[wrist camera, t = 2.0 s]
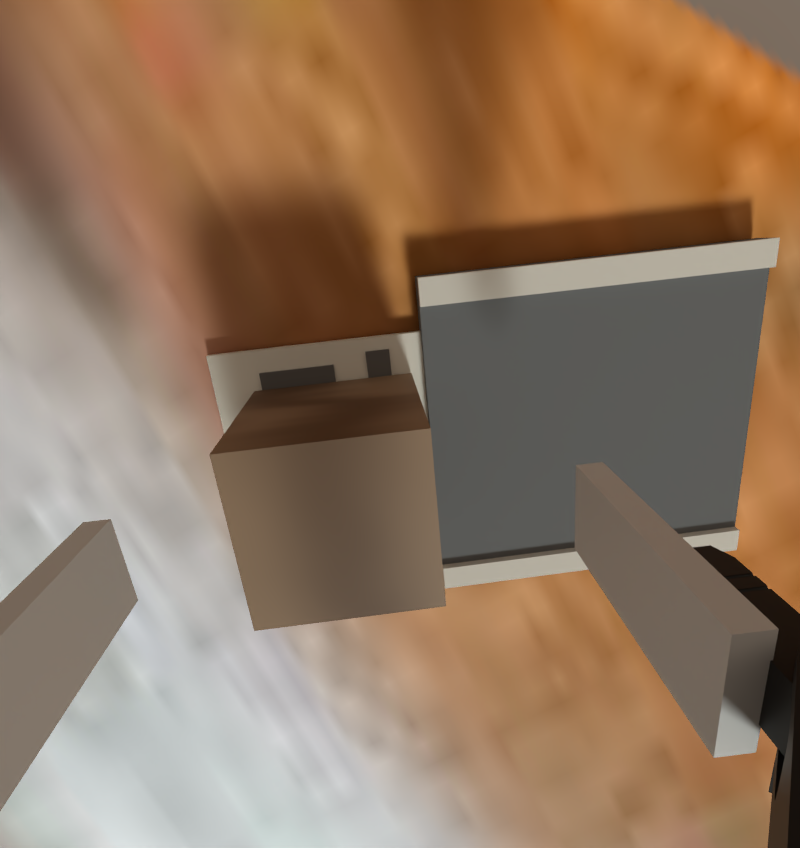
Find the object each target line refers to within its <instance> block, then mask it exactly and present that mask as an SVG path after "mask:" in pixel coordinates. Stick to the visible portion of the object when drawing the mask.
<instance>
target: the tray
mask: <svg viewBox="0 0 800 848" xmlns="http://www.w3.org/2000/svg"><path fill="white" fill-rule="evenodd" d="M779 240H780V238H754V239H745V240H736V241H727V242H718V243H709V244H700V245H691V246H682V247H673V248H664V249H655V250H646V251H637V252H628V253H619V254H610V255H601V256H592V257H583V258H574V259H565V260H556V261H547V262H538V263H529V264H520V265H511V266H502V267H493V268H484V269H475V270H466V271H457V272H448V273H439V274H430V275H421V276H415V285H416V296H417V307H418V318H419V329H420V332H421V343H422V355H423V366H424V377H425V388H426V400H427V411H428V422H429V425H430V428H431V438H432V450H433V461H434V473H435V485H436V496H437V508H438V519H439V531H440V543H441V554H442V566H443V578H444V586H445V588H452V587H459V586H467V585H474V584H482V583H490V582H497V581H505V580H512V579H520V578H527V577H535V576H543V575H550V574H558V573H565V572H573V571H580V570H588V568H587V566H586V565H585V563H584V562H583V560H582V559H581V557H580V556H579V554H578V553H577V551H576V550H575V492H576V465H581V464H590V463H599V462H603V463H604V464H605V465H606V466H607V467H608V468H610V469H611V470H612V471H613V472H614V473H615V474H616V475H617V476H618V477H619V478H620V479H621V480H622V481H623V482H624V483H625V484H626V485H627V486H628V487H630V488H631V489H632V490H633V491H634V492H635V493H636V494H637V495H638V496H639V497H640V498H641V499H642V500H643V501H644V502H645V503H646V504H647V505H649V506H650V507H651V508H652V509H653V510H654V511H655V512H656V513H657V514H658V515H659V516H660V517H661V518H662V519H663V520H664V521H665V522H666V523H668V524H669V525H670V526H671V527H672V528H673V529H674V530H675V531H676V532H677V533H678V534H679V535H680V536H681V537H682V538H683V539H684V540H685V541H686V542H688V543H689V544H690V545H691V546H692V547H701V546H709V545H711V546H713V547H715V548H717V549H719V550H721V551H723V552H724V551H732V550H737V544H738V537H739V529H737V528H736V527H735V521H736V513H737V506H738V498H739V491H740V483H741V476H742V468H743V461H744V453H745V446H746V439H747V431H748V424H749V416H750V409H751V401H752V394H753V386H754V379H755V371H756V364H757V357H758V349H759V342H760V334H761V327H762V319H763V312H764V304H765V297H766V289H767V282H768V275H769V268H770V267H776V262H777V255H778V247H779Z"/></svg>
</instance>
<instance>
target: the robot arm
mask: <svg viewBox="0 0 800 848" xmlns="http://www.w3.org/2000/svg"><path fill="white" fill-rule="evenodd" d="M575 550H576V551H577V553H578V554H579V556H580V557H581V559H582V560H583V562H584V563H585V565H586V566H587V568H588V569H589V571H590V572H591V574H592V575H593V577H594V578H595V580H596V581H597V583H598V584H599V586H600V587H601V589H602V590H603V592H604V593H605V595H606V596H607V598H608V599H609V601H610V602H611V604H612V605H613V607H614V608H615V610H616V611H617V613H618V614H619V616H620V617H621V619H622V620H623V622H624V623H625V625H626V626H627V628H628V629H629V631H630V632H631V634H632V635H633V637H634V638H635V640H636V641H637V643H638V644H639V646H640V647H641V649H642V650H643V652H644V654H645V655H646V657H647V658H648V660H649V661H650V663H651V664H652V666H653V667H654V669H655V670H656V672H657V673H658V675H659V676H660V678H661V679H662V681H663V682H664V684H665V685H666V687H667V688H668V690H669V691H670V693H671V694H672V696H673V697H674V699H675V700H676V702H677V703H678V705H679V706H680V708H681V709H682V711H683V712H684V714H685V715H686V717H687V718H688V720H689V721H690V723H691V724H692V726H693V727H694V729H695V730H696V732H697V733H698V735H699V736H700V738H701V739H702V741H703V742H704V744H705V745H706V747H707V748H708V750H709V751H710V753H711V754H712V756H713V757H714V758H715V757H723V756H731V755H739V754H747V753H755V752H756V749H757V744H758V738H759V733H760V728H762V729H763V731H764V732H765V733H766V734H767V736H768V737H769V738H770V739H771V740H772V742H773V743H774V744H775V745H776V747H777V753H776V758H775V763H774V768H773V773H772V778H771V782H770V787H769V792H770V793H772V802H771V814H770V826H769V838H768V848H800V614H799V613H798V612H797V611H796V610H795V609H793V608H792V607H791V606H790V605H789V604H788V603H787V602H785V601H784V600H783V599H782V598H781V597H780V596H778V595H777V594H776V593H775V592H774V591H773V590H772V589H768V588H767V585H766V584H765V583H763V582H762V581H761V580H760V579H759V578H758V577H757V576H753V574H752V572H751V571H750V570H748V569H747V568H746V567H745V566H744V565H743V564H742V563H740V562H739V561H738V560H737V559H736V558H735V557H733V556H731V555H729V554H727V553H725V552H723V551H721V550H719V549H717V548H715V547H713V546H711V545H709V546H701V547H692V546H691V545H690V544H689V543H688V542H686V541H685V540H684V539H683V538H682V537H681V536H680V535H679V534H678V533H677V532H676V531H675V530H674V529H673V528H672V527H671V526H670V525H669V524H668V523H666V522H665V521H664V520H663V519H662V518H661V517H660V516H659V515H658V514H657V513H656V512H655V511H654V510H653V509H652V508H651V507H650V506H649V505H647V504H646V503H645V502H644V501H643V500H642V499H641V498H640V497H639V496H638V495H637V494H636V493H635V492H634V491H633V490H632V489H631V488H630V487H628V486H627V485H626V484H625V483H624V482H623V481H622V480H621V479H620V478H619V477H618V476H617V475H616V474H615V473H614V472H613V471H612V470H611V469H610V468H608V467H607V466H606V465H605V464H604V463H603V462H599V463H590V464H581V465H576V492H575ZM137 601H138V599H137V596H136V593H135V590H134V587H133V584H132V581H131V578H130V575H129V572H128V569H127V566H126V563H125V560H124V557H123V554H122V551H121V548H120V546H119V543H118V540H117V537H116V534H115V531H114V528H113V525H112V522H111V519H108V520H100V521H91V522H83V523H82V524H81V525H80V526H79V527H78V528H77V529H76V530H75V531H74V532H73V533H72V534H71V535H70V536H69V537H68V538H67V539H66V540H65V541H63V542H62V543H61V544H60V545H59V546H58V547H57V548H56V549H55V550H54V551H53V552H52V553H51V554H50V555H49V556H48V557H47V558H46V559H45V560H44V561H43V562H42V563H41V564H40V565H39V566H38V567H37V568H36V569H35V570H34V571H33V572H32V573H31V574H29V575H28V576H27V577H26V578H25V579H24V580H23V581H22V582H21V583H20V584H19V585H18V586H17V587H16V588H15V589H14V590H13V591H12V592H11V593H10V594H9V595H8V596H7V597H6V598H5V599H4V600H3V601H2V602H1V603H0V811H1V809H2V808H3V806H4V805H5V803H6V802H7V800H8V798H9V797H10V795H11V794H12V792H13V791H14V789H15V788H16V786H17V785H18V783H19V782H20V780H21V779H22V777H23V775H24V774H25V772H26V771H27V769H28V768H29V766H30V765H31V763H32V762H33V760H34V759H35V757H36V756H37V754H38V753H39V751H40V749H41V748H42V746H43V745H44V743H45V742H46V740H47V739H48V737H49V736H50V734H51V733H52V731H53V730H54V728H55V726H56V725H57V723H58V722H59V720H60V719H61V717H62V716H63V714H64V713H65V711H66V710H67V708H68V707H69V705H70V703H71V702H72V700H73V699H74V697H75V696H76V694H77V693H78V691H79V690H80V688H81V687H82V685H83V684H84V682H85V681H86V679H87V677H88V676H89V674H90V673H91V671H92V670H93V668H94V667H95V665H96V664H97V662H98V661H99V659H100V658H101V656H102V654H103V653H104V651H105V650H106V648H107V647H108V645H109V644H110V642H111V641H112V639H113V638H114V636H115V635H116V633H117V631H118V630H119V628H120V627H121V625H122V624H123V622H124V621H125V619H126V618H127V616H128V615H129V613H130V612H131V610H132V609H133V607H134V605H135V604H136V602H137Z"/></svg>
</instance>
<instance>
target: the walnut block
mask: <svg viewBox="0 0 800 848" xmlns="http://www.w3.org/2000/svg"><path fill="white" fill-rule="evenodd" d="M210 458H211V462H212V466H213V470H214V474H215V478H216V482H217V486H218V490H219V494H220V498H221V502H222V505H223V509H224V513H225V517H226V521H227V525H228V529H229V533H230V537H231V541H232V545H233V549H234V553H235V557H236V561H237V564H238V568H239V572H240V576H241V580H242V584H243V588H244V592H245V596H246V600H247V604H248V608H249V612H250V616H251V620H252V623H253V627H254V631H257V630H264V629H272V628H280V627H288V626H295V625H303V624H311V623H319V622H327V621H334V620H342V619H350V618H358V617H365V616H373V615H381V614H389V613H396V612H404V611H412V610H420V609H428V608H435V607H443V606H446V601H445V589H444V578H443V566H442V554H441V543H440V531H439V519H438V508H437V496H436V485H435V473H434V461H433V450H432V438H431V428H430V425H429V422H428V419H427V416H426V414H425V411H424V408H423V405H422V402H421V399H420V396H419V393H418V391H417V388H416V385H415V382H414V379H413V376H412V373H407V374H398V375H390V376H381V377H372V378H364V379H355V380H347V381H338V382H329V383H321V384H312V385H303V386H295V387H286V388H278V389H269V390H260V391H254V392H253V394H252V395H251V397H250V398H249V399H248V401H247V402H246V404H245V405H244V407H243V408H242V409H241V411H240V412H239V414H238V415H237V416H236V418H235V419H234V421H233V422H232V424H231V425H230V426H229V428H228V429H227V431H226V432H225V434H224V435H223V436H222V438H221V439H220V441H219V442H218V443H217V445H216V446H215V448H214V449H213V451H212V452H211V453H210Z"/></svg>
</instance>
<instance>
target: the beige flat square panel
mask: <svg viewBox="0 0 800 848" xmlns="http://www.w3.org/2000/svg"><path fill="white" fill-rule="evenodd" d="M206 357H207V362H208V366H209V370H210V375H211V379H212V383H213V387H214V392H215V396H216V400H217V405H218V409H219V413H220V417H221V422H222V426H223V430H224V434H225V432H226V431H227V429H228V428H229V426H230V425H231V424H232V422H233V421H234V419H235V418H236V416H237V415H238V414H239V412H240V411H241V409H242V408H243V407H244V405H245V404H246V402H247V401H248V399H249V398H250V397H251V395H252V394H253V392H254V391H260V390H269V389H278V388H286V387H295V386H303V385H312V384H321V383H329V382H338V381H347V380H355V379H364V378H372V377H381V376H390V375H398V374H407V373H412V376H413V379H414V382H415V385H416V388H417V391H418V393H419V396H420V399H421V402H422V405H423V408H424V411H425V414H426V416H427V419H428V411H427V400H426V388H425V377H424V366H423V355H422V343H421V332H420V331H411V332H402V333H394V334H385V335H376V336H368V337H359V338H350V339H341V340H333V341H324V342H315V343H307V344H298V345H289V346H281V347H272V348H263V349H254V350H246V351H237V352H228V353H220V354H211V355H208V356H206Z"/></svg>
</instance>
